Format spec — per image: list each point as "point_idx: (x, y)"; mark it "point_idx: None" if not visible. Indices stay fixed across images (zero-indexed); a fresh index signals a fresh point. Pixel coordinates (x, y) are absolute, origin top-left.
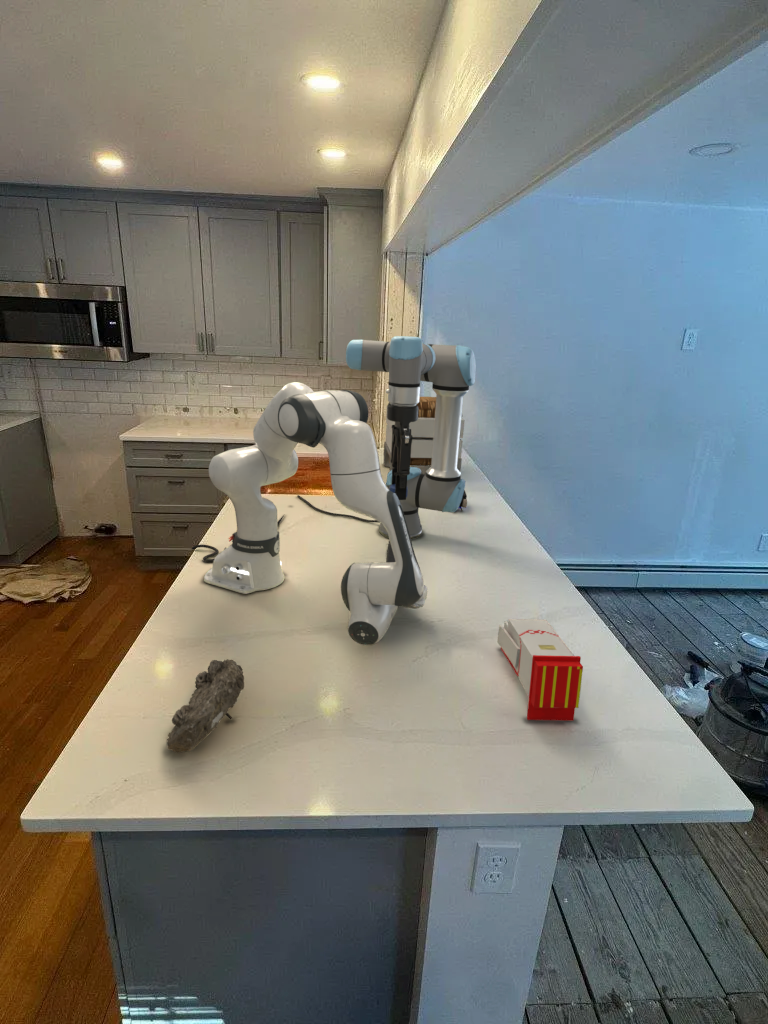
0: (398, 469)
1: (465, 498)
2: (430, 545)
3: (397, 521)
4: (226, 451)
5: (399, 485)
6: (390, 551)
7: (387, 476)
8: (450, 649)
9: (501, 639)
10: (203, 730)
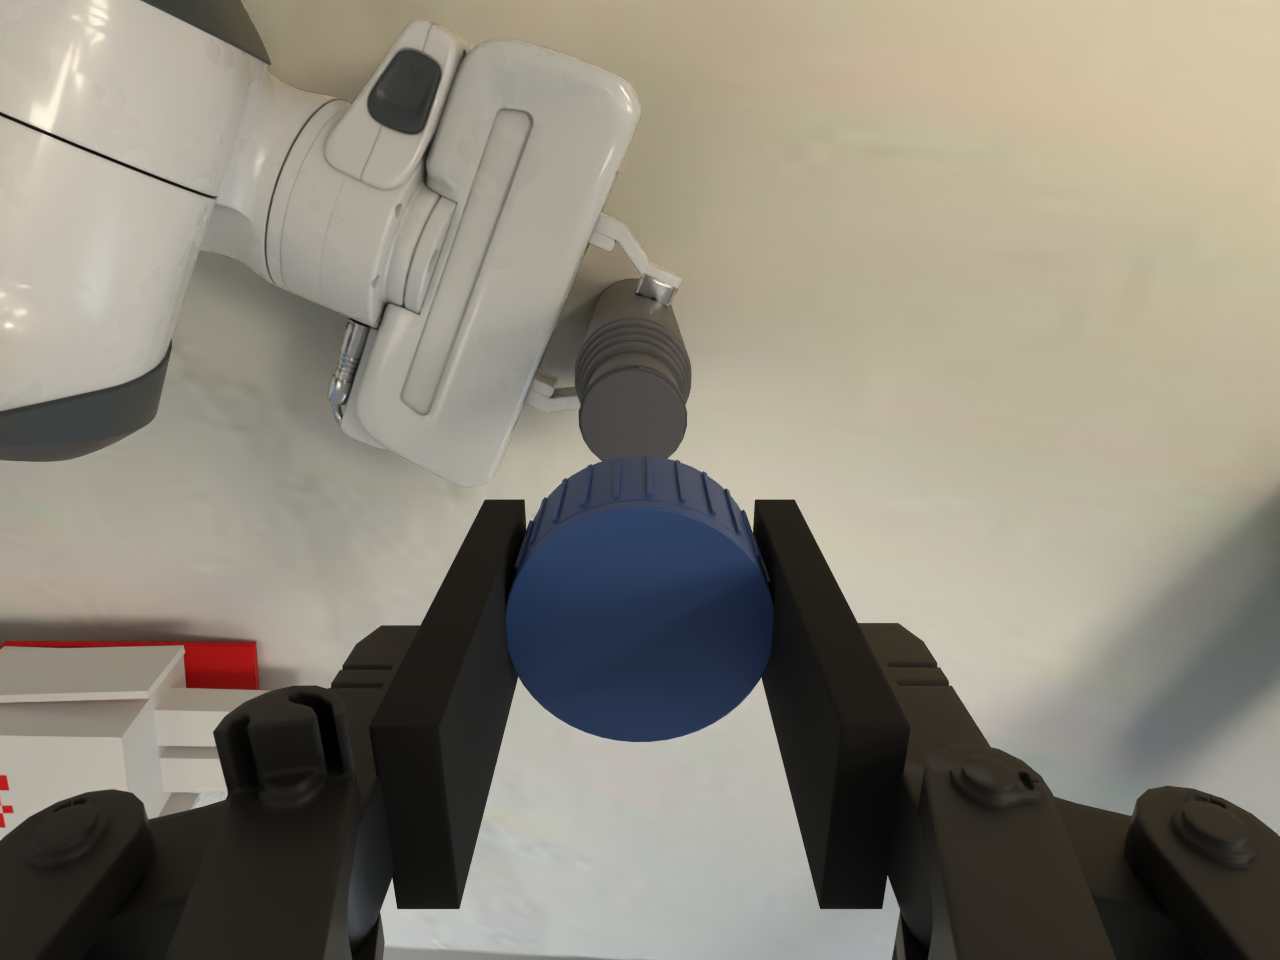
0: (207, 867)
1: None
2: (1185, 619)
3: None
4: None
5: (363, 651)
6: (594, 343)
7: None
8: (244, 475)
9: (130, 664)
10: None
